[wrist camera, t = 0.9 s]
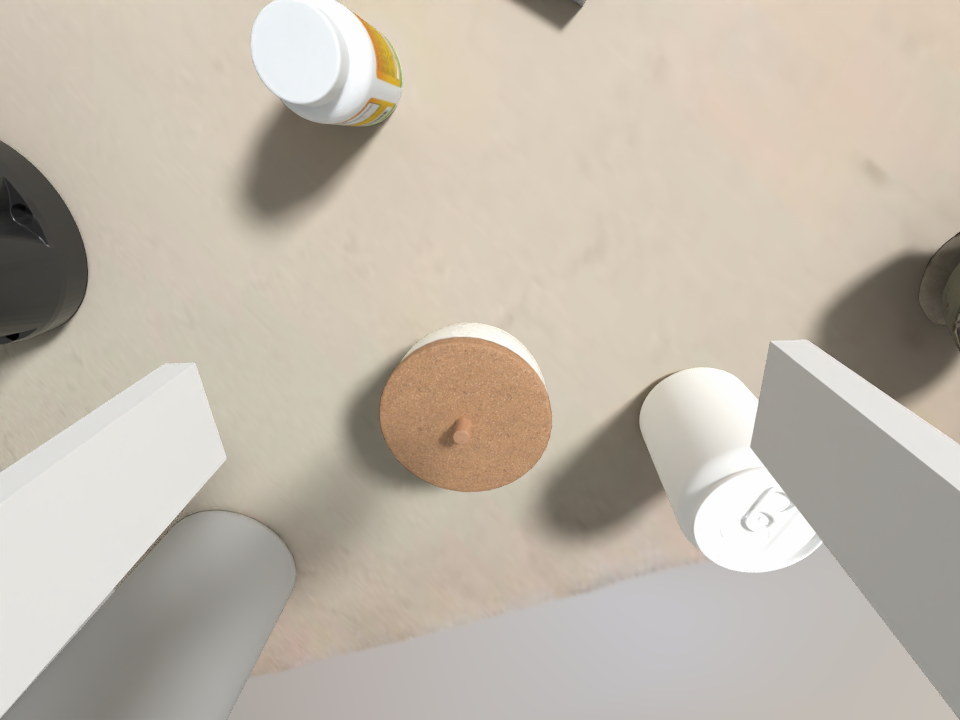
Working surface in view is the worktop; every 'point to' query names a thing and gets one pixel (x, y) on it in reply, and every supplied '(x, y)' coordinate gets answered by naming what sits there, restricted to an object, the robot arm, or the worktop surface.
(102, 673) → the cylinder vase
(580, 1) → the socket plate
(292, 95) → the supplement bottle
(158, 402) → the robot arm
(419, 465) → the lidded jar
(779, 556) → the beverage can
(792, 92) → the worktop surface
